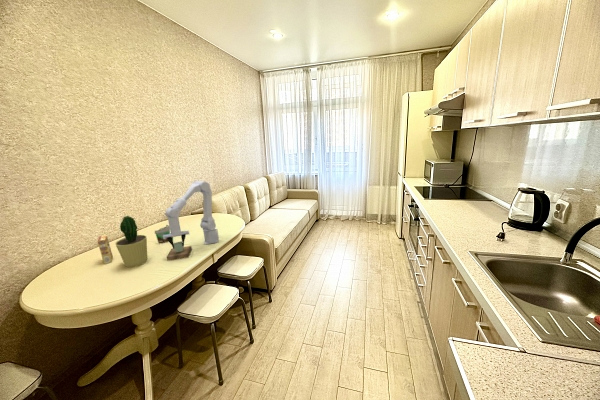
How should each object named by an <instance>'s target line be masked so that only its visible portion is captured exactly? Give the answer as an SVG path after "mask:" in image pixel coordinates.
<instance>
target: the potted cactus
mask: <svg viewBox="0 0 600 400" xmlns="http://www.w3.org/2000/svg"><path fill="white" fill-rule="evenodd" d="M119 230H120V232H121V233H122V234H123V238H121V239H118V240H117V241H116V242H115V243H114V244H115V246H116V249H117V252H118V253H119V255H120V257H121V259H122V262H123V264H124V265H125V267H127V268H134V267H138V266H141V265H144V264H145V263H146V262H148V244H147V243H148V242H147V241H148V240H147V235H145V234H138V230H139V226H138V225H137V222H136V219H135V217H134V218H133V216H130V215H126V216H125V215H124V216H122V220H121V222H120V223H119Z"/></svg>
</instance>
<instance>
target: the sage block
mask: <svg viewBox="0 0 600 400" xmlns="http://www.w3.org/2000/svg"><path fill="white" fill-rule="evenodd" d="M173 243H174V249H175V253H177V252H181V251H183V245H182V240H181V241H175V242H173Z"/></svg>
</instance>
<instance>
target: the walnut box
mask: <svg viewBox="0 0 600 400" xmlns="http://www.w3.org/2000/svg"><path fill="white" fill-rule="evenodd" d="M191 252H192V246H191V245H188V246H184V247H183V251H181V252H177V253H175V249H173V248H171V249H170V250H169V252H168V253H167V255H166V260H167V261H174V260H182V259H188V258H190V255H191Z"/></svg>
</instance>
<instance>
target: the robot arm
mask: <svg viewBox="0 0 600 400" xmlns="http://www.w3.org/2000/svg"><path fill="white" fill-rule="evenodd" d="M195 193H201V194H202V198H203V199H202V200H203V201H202V202H203V203H202V204H203V207H202V208H203V209H202V210H203V213H202V214H203V217H202V218H201V220H200V221H201V222H200V225H199V226H200V228H201V229H202V232H203V237H204V239H203V240H204V242H203V245H209V244H217V243H219V236H220V235H219V231H218V228H216V227H217V226H216V222H215V219H214V217H213V195H212V194H213V191H212V189H211V185H210V183H209V182H207V181H205V180H194V181H193V182H192V183H191V184H190V186H189V188H188V190H186V192H185V193H184V194H183V195H182V197H180V198H177V199H175V202H174V203H172V205H170V206H169V207H168V208H166V209H165V213H164V215H165V217H167V221H168V222H167V223H168V225H169V227H170V234H167V235H163V239H166V238H167V239H168V241H167V242H169V243H170V245H171V247H172V249H174V243H175V242H174V239H173V238H174V237H175V238H176V237H180V239H181V241H182V245H183V247H185V240H186V236H187V235H190V231H189V230H181V229H182V228H181V225H180V220H179V216H180V214H181V213H180V212H181V211H182V210H183V208H184V207H185V206H186V205H187V201H189V199H191V197H192V196H193V195H195Z"/></svg>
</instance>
